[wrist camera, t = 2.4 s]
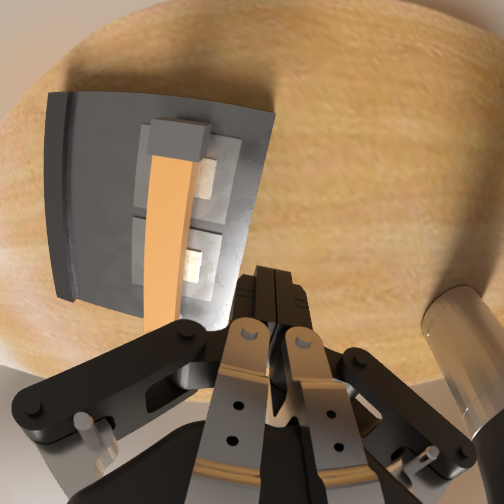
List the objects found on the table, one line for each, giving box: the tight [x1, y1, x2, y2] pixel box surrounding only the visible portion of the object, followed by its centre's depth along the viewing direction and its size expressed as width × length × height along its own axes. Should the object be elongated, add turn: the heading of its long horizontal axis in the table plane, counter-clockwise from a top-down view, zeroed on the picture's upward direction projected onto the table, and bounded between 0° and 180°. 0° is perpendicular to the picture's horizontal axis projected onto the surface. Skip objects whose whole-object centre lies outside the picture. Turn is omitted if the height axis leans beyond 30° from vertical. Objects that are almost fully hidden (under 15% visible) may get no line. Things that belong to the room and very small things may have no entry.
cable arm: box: [144, 117, 212, 333], centre depth 23 cm, size 4×21×3 cm, turn 168°
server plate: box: [44, 91, 276, 331], centre depth 26 cm, size 20×22×4 cm
